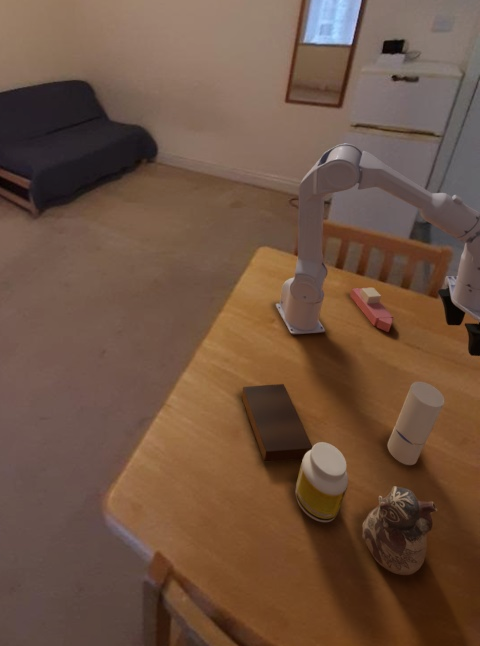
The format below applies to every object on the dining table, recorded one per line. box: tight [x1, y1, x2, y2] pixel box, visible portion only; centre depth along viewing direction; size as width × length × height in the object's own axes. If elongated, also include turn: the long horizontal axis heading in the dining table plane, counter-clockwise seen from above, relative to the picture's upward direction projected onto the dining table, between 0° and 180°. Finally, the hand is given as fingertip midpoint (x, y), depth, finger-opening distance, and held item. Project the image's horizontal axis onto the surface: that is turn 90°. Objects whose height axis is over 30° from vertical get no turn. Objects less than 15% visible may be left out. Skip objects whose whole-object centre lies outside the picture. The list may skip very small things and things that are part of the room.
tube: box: [387, 380, 445, 466], centre depth 66 cm, size 4×4×15 cm
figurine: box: [362, 485, 438, 576], centre depth 55 cm, size 7×7×12 cm
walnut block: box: [241, 383, 313, 463], centre depth 73 cm, size 12×8×3 cm, turn 3°
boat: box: [349, 287, 394, 333], centre depth 96 cm, size 12×4×5 cm, turn 3°
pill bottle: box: [294, 441, 349, 523], centre depth 61 cm, size 6×6×11 cm
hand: (464, 338), depth 77 cm, fingers open, 7 cm apart
